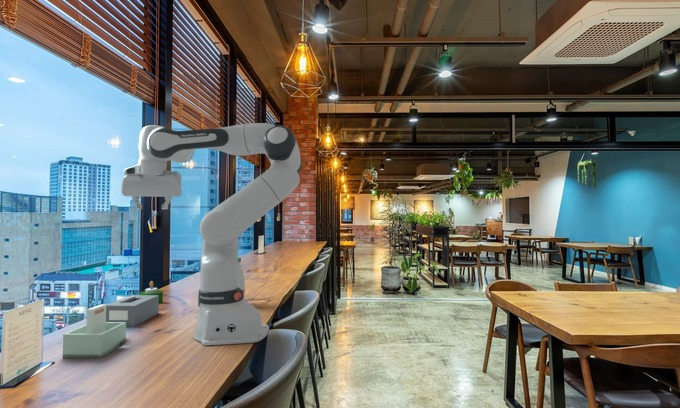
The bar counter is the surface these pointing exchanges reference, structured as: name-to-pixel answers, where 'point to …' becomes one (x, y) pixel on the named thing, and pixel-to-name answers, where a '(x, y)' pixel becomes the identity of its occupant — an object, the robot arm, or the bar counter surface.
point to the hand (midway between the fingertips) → (151, 209)
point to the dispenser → (132, 309)
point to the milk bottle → (241, 277)
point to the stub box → (93, 341)
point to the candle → (153, 292)
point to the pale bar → (96, 319)
